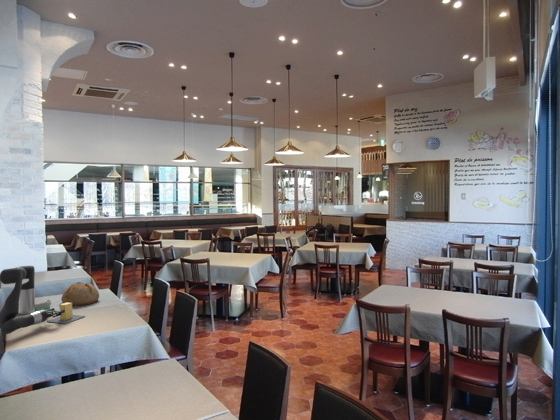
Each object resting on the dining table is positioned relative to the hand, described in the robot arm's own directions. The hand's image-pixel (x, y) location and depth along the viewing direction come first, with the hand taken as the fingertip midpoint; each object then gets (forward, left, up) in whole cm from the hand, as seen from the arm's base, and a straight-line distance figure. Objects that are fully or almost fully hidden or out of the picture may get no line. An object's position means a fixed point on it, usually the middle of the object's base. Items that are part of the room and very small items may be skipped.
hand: (59, 310), depth 251 cm
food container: (-20, -1, -8) cm, 22 cm away
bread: (-39, +32, -8) cm, 51 cm away
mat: (-2, +5, -8) cm, 9 cm away
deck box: (-2, +5, -7) cm, 9 cm away
